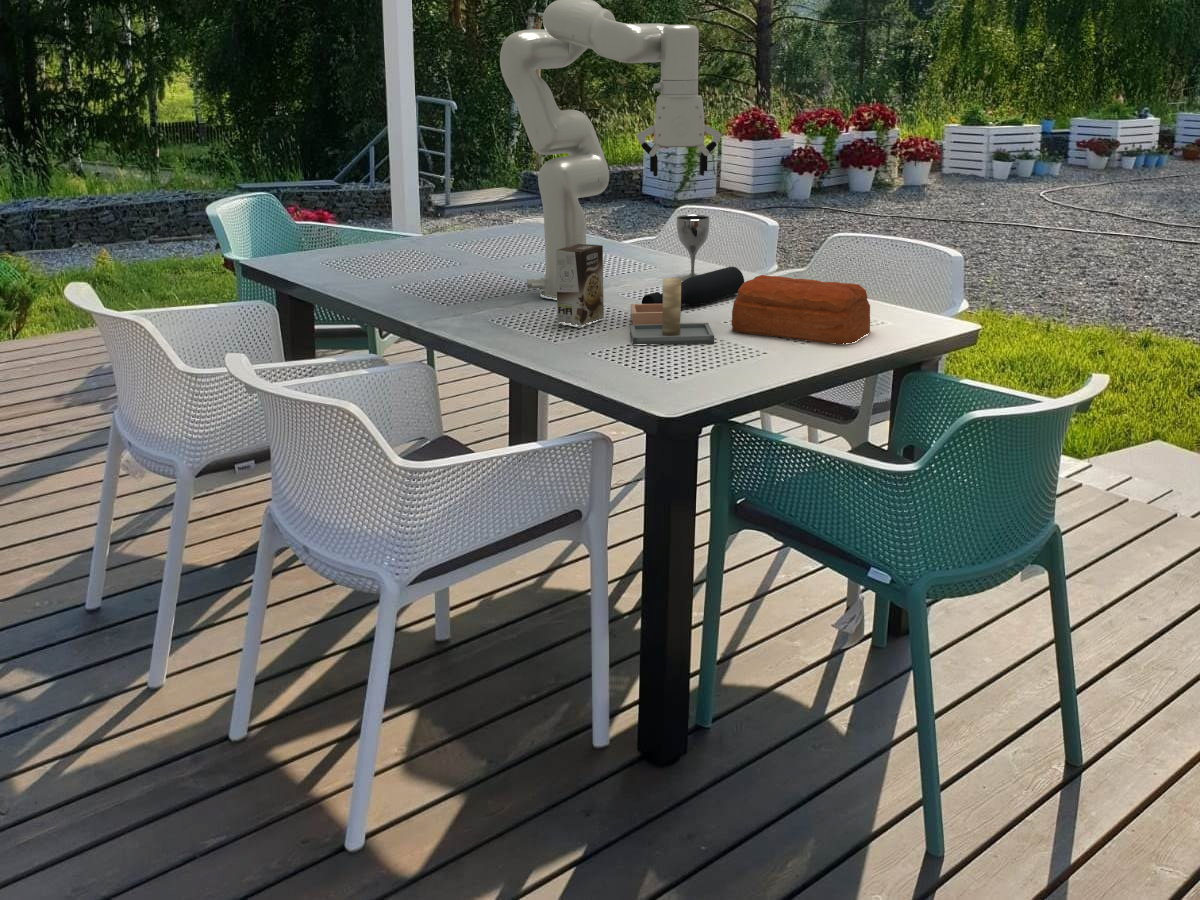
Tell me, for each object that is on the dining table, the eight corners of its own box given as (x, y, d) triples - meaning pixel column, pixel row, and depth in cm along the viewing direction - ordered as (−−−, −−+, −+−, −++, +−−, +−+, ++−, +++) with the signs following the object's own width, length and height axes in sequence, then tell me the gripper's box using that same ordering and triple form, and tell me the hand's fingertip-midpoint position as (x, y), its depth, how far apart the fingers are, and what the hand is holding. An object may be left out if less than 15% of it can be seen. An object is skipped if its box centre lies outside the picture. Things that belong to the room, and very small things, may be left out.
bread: (848, 349, 239) (851, 295, 235) (724, 333, 252) (724, 282, 249) (876, 331, 251) (879, 280, 248) (756, 317, 265) (757, 268, 261)
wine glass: (672, 280, 302) (672, 219, 297) (682, 274, 309) (682, 214, 304) (703, 282, 299) (703, 220, 294) (712, 276, 306) (713, 215, 301)
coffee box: (582, 329, 257) (580, 251, 252) (556, 325, 260) (554, 249, 255) (605, 320, 264) (604, 244, 259) (580, 316, 268) (578, 242, 262)
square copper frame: (633, 328, 256) (632, 313, 255) (630, 318, 265) (630, 304, 264) (674, 327, 257) (674, 312, 256) (670, 318, 265) (671, 303, 264)
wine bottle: (749, 284, 283) (664, 309, 262) (731, 299, 287) (646, 323, 267) (735, 261, 284) (649, 283, 263) (717, 275, 288) (632, 298, 268)
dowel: (663, 335, 246) (663, 281, 243) (661, 331, 250) (662, 277, 246) (681, 335, 247) (682, 281, 243) (679, 331, 250) (680, 277, 246)
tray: (633, 345, 243) (633, 337, 243) (630, 332, 253) (630, 324, 253) (714, 343, 243) (714, 335, 243) (708, 330, 254) (708, 322, 253)
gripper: (637, 90, 246) (637, 178, 252) (724, 89, 246) (722, 177, 252) (635, 88, 253) (635, 173, 259) (720, 87, 253) (718, 172, 259)
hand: (678, 175), depth 255 cm, fingers open, 9 cm apart
